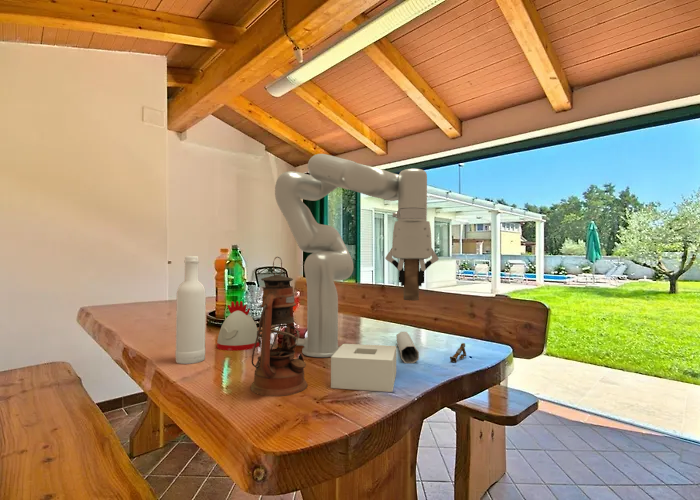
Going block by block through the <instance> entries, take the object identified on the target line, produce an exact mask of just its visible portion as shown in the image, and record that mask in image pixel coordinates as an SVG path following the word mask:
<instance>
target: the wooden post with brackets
mask: <svg viewBox="0 0 700 500" xmlns="http://www.w3.org/2000/svg"><path fill="white" fill-rule="evenodd" d="M465 347H466V343H465V342H462V343H461V344H460V345H459V348H457V350H456V351H455V353H454V355H452V356H451V355H450V356H449V359H450V362H453V363H456V364H457V362H458V360H457V359H458V358H459V360H463V359H464V358H466V357H467V352H466V349H465Z"/></svg>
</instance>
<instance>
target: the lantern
mask: <svg viewBox="0 0 700 500" xmlns="http://www.w3.org/2000/svg"><path fill="white" fill-rule="evenodd" d="M276 259H279V260H280V262H281V263H280V272H279V273H278V274H276V273H275V260H276ZM272 270H273V275H270V276H266V277H262V278H261V279H260V280H261V281H263V283H264V287H263V288H262V296H261V299H262V303H261V305H260V306H259V307H260V308H262V309H261V310H262V311H261V314H260V317H259V322H258V323H259V325H258V331H257V338H256V342H255V345H254V348H253V349H252V354H251V364H252V366H253V367H255V370H254V377H253V382H252V383H251V384H250V391H251V392H252V393H254V394H257V395H260V396H267V397H283V396H291V395H294V394H298V393H301V392H302V391H305V390H306V389H307V387H308V382H307V381H306V380H305V369H306V367H307V366H306V365H307V364H306V362H305V358H304V356H305V355H304V354H303V353H300V354H299V355H298V357H297V358H295V354H296V347H297V346H298V345H297V344H295V343H296V342H297V343H298V338H300V335H301V334H300V332H301V330H298V328H297V327H296V326H295V320H294V318H295V317H294V307H296V306H297V303H296V302H295V294H294V287H293V286H291V285H290V282H291V281H293V280H294V278H292V277H289V276H288V277H287V276H285V275H282V272H283V261H282V258H281V257H279V256H275V257H274V259H273V262H272ZM272 325H274V326H272ZM281 327H284V330H280V328H281ZM275 328H278V329H275ZM271 333H275V337H274V339H273V342H272V343H271ZM278 335H282V339H281V345H280V346H276V347H275V342H276V340H277V337H278ZM258 338H259V339H258ZM296 340H297V341H296ZM257 341H258V342H259V343H260V344H259V348H260V356H258V357H257V361H256V363H255V364H254V357H255V351H256V348H257V347H256V344H257ZM273 347H275V348H273Z"/></svg>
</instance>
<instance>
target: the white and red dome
mask: <svg viewBox="0 0 700 500" xmlns="http://www.w3.org/2000/svg"><path fill="white" fill-rule="evenodd" d="M227 308H228V311H229V313H230V314H229V315H228V316H227V317H226V318H225V320H224V321H223V323H222V324H221V327H220V329H219V333H218V337H217V342H216V347H217V349H218V350H221V351H228V352H229V351H233V352H234V351H238V352H239V351H246V350H251V349H252V350H253V349H254V345H255V342H256V338H257V331H258V330H259V328H258V326H257V324H256V321H255V320H254V318H253V317H252V316H251V315H250V314H249V313H250V311H251V307H250V308H247V304H244V305H243V301H240V302H239V300H236V302H234V301H231V303H230V304H227ZM246 309H247V311H246ZM258 339H259V338H258ZM259 344H260V343H259V342H258V341H257V344H256V348H258V347H259ZM259 348H260V347H259Z"/></svg>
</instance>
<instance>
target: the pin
mask: <svg viewBox="0 0 700 500" xmlns="http://www.w3.org/2000/svg"><path fill="white" fill-rule="evenodd" d="M403 268H404V285H403V300H404V301H412V302H413V301H419V300H420V286H419V271H420V261H419V259H404V264H403Z"/></svg>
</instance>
